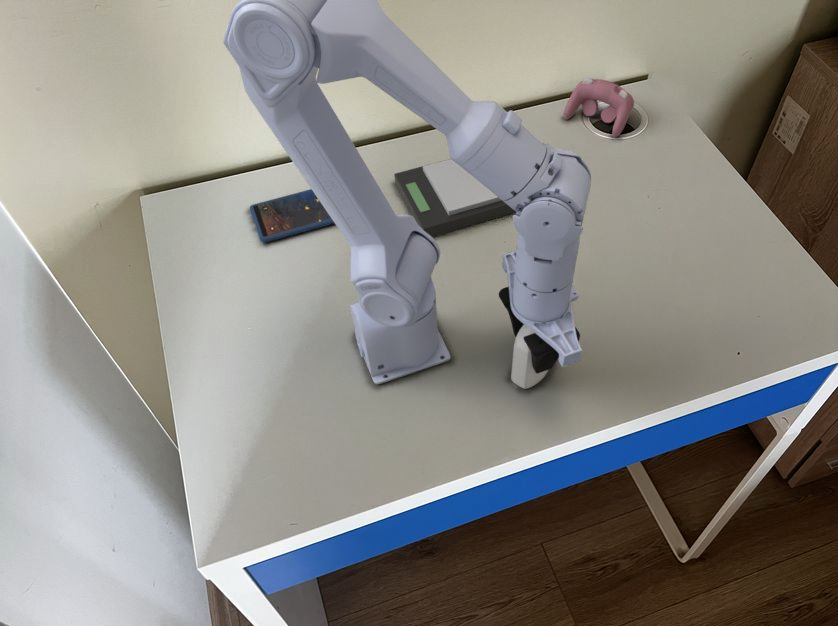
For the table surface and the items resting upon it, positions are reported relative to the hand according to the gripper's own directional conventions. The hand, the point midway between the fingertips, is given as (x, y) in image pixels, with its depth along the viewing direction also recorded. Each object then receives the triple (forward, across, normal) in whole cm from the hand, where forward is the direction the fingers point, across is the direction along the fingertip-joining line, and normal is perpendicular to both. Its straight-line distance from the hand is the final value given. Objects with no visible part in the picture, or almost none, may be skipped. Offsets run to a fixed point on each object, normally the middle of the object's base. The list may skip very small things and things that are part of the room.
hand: (533, 352), depth 79 cm
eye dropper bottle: (+4, 0, 0) cm, 4 cm away
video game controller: (+4, +39, -30) cm, 49 cm away
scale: (+4, +31, -3) cm, 31 cm away
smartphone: (+4, +36, +17) cm, 40 cm away
